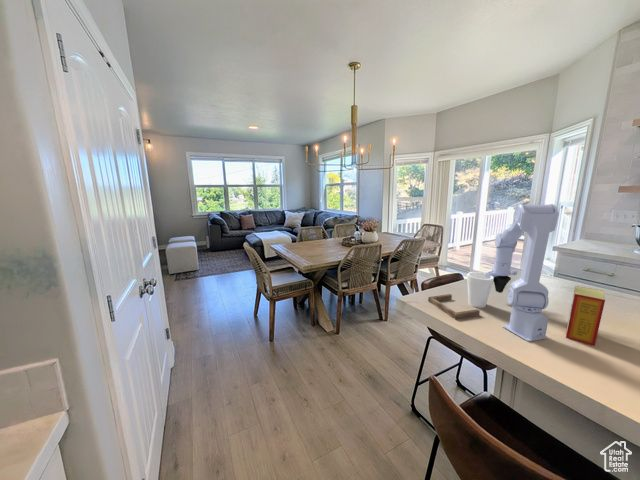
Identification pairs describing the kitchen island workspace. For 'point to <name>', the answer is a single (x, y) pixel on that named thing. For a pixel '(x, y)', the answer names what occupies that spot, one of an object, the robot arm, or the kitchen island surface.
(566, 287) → the kitchen island surface
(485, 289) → the foam cup
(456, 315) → the walnut corral
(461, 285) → the kitchen island surface
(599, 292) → the baking soda box
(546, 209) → the robot arm
